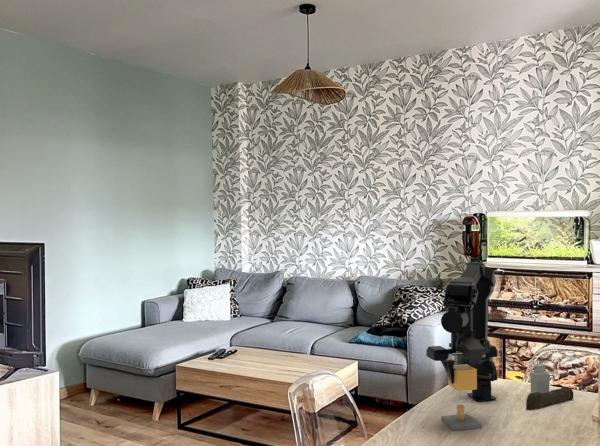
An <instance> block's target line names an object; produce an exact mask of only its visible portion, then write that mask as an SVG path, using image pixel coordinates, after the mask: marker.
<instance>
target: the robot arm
mask: <svg viewBox="0 0 600 446" xmlns="http://www.w3.org/2000/svg"><path fill="white" fill-rule="evenodd" d="M465 266H466V267H465V269H463V271H462V273H461V274H460V276H459V277H456V278H452V279H451V280H450V281H449V282H448V284H447V285H446V286H445V292H444V293H445V294H444V297H443V298H444V299H443V303H442V307H446V308H447V309H448V311H446V312H445V313H443V314H442V316H441V319H440V324H441V326H442V328H443V330H444V331H446V332H447V333H450V342H449V343H448V347H449V348H445V347H444V346H441V345H431V346H428V347H427V348H426V357H427V358H429V359H430V360H432V361H436V362H441V364H442V367H443V368H444V370H445V372H446V375H447V377H449V380H450V382H451V383H452V384H454V367H453V366H454V365H455V364H456V360H454V359H453V357H454V356H455V357H456V356H464V358H465V360H464V364H467V365H469V366H471V367H473V368H475V369H477V389H476V390H471V392H468V393H467V396H468V397H470V398H471V399H473V400H474V401H476V402H484V401H485V402H486V401H494V400H496V399H497V398H496V397H495V396H494V395H492V382H495V381H498V371H497V366H496V364H495V362H494V361H493V358H498V355H499V353H498V352H499V351H498V348H497V347H496V345H493V344H491V343H490V341H489V338H488V336H489V335H488V332H489V331H488V330H489V328H488V327H489V326H488V325H489V319H488V318H489V299H490V298H491V296H492V295H493V294H494V292H495V291H494V289H495V287H496V282H497V281H496V280H497V279H496V274H495V272H494V270H493V269H491V268H489V267H487V266H486V264H485V263H483V262H480V261H469V262H467V263H466V265H465Z"/></svg>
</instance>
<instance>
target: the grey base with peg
mask: <svg viewBox="0 0 600 446" xmlns="http://www.w3.org/2000/svg"><path fill="white" fill-rule="evenodd" d="M440 420H441V421H442V422H444V424H445V425H447V426H448V427H449V428H450V429H451V430H453V431H463V430H471V429H472V430H473V429H482V423H481V422H479V421H478V420H477V419H475V418H474V417H472V415H469V414H468V413H465V405H464V404H456V414H451V415H441V416H440Z"/></svg>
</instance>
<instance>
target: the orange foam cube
mask: <svg viewBox="0 0 600 446" xmlns="http://www.w3.org/2000/svg"><path fill="white" fill-rule="evenodd" d="M453 367H454V384H452V383H451V382H450V380H449V377H448V376H447V377H448V379H447V380H448V382H447V383H448V386H449V387H451V388H453V389H454V390H455V391H457V392H462V391H463V392H464V391H472V390H476V389H477V369H475V368H473V367H471V366H469V365H467V364H465V363H462V364H454V366H453Z"/></svg>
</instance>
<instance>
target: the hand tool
mask: <svg viewBox="0 0 600 446" xmlns="http://www.w3.org/2000/svg"><path fill="white" fill-rule="evenodd" d="M573 399H574V390H573V389H572V388H570V387H568V386H566V385H564V386H562V387H561V388H557V389H552V390H549V392H546V393H539V392H535V393H531V392H530V393H529V394H528V395H527V397H526V401H525V410H527V411H528V410H529V411H530V410H539V409H543V407H545V406H547V405H550V404H551V405H552V404H554V403H558V402H563V401H566V400H569V401H573Z"/></svg>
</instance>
